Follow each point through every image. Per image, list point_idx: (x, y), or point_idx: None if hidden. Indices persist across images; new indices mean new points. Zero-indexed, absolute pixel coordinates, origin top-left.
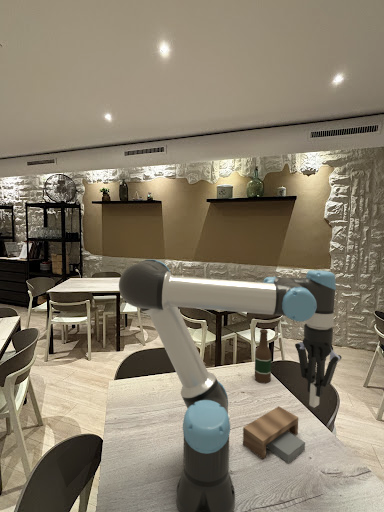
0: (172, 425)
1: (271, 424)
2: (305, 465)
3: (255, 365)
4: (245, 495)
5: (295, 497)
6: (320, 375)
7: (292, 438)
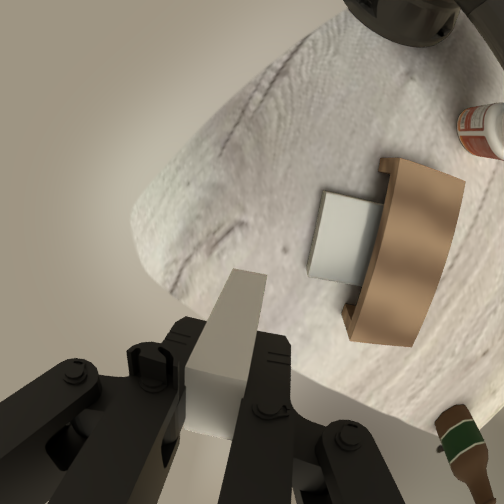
0: None
1: (409, 253)
2: (284, 214)
3: (477, 428)
4: (349, 39)
5: (262, 102)
6: (74, 467)
7: (342, 267)
